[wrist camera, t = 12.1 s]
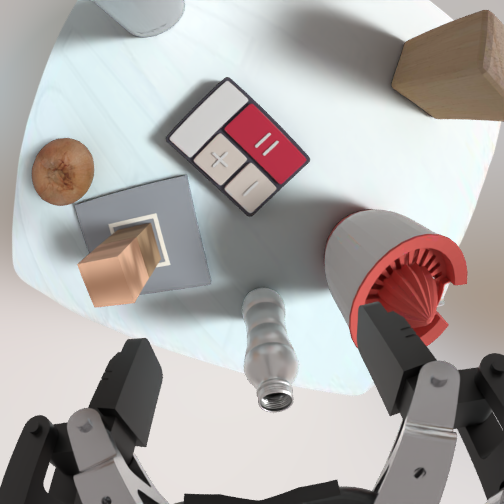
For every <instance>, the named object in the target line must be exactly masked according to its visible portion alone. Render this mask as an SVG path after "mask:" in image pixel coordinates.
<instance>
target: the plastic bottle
mask: <svg viewBox="0 0 504 504" xmlns="http://www.w3.org/2000/svg"><path fill="white" fill-rule="evenodd" d="M242 315H243V319H244V322H245V324H246V330H247V349H246V355H245V361H244V372H245V375H246V377H247V379H248V380H249V382H250V383H251V384H252V385H253V386H254V387H255V388H256V389H257V397H258V403H259V406H260V407H261V409H263V410H265V411H267V412H280V411H283V410H286V409H288V408H289V407H290V406H291V405H292V404H293V394H292V393H293V389H292V385H291V384H292V383H293V382H294V380H295V378H296V376H297V374H298V368H299V362H298V359H297V356H296V353H295V351H294V349H293V347H292V345H291V343H290V340H289V337H288V334H287V331H286V325H285V304H284V302H283V300H282V298H281V297H280V295H279V294H278V293H277V292H276V291H274V290H272V289H270V288H257V289H255V290H253V291H251V292H250V293H248V294H247V296H246V297H245V299H244V302H243V305H242Z"/></svg>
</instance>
